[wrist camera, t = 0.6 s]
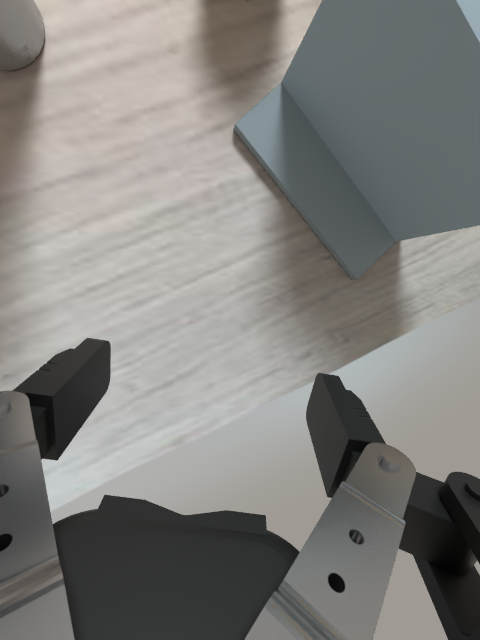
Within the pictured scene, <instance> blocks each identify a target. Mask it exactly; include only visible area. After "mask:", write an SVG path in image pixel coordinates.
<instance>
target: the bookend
mask: <svg viewBox="0 0 480 640" xmlns="http://www.w3.org/2000/svg"><path fill="white" fill-rule="evenodd" d="M233 130H234V131H235V132H236V134H237V135H238V136H239V138H240V139H241V140H242V141H243V143H244V144H245V145H246V146H247V148H248V149H249V150H250V151H251V153H252V154H253V155H254V157H255V158H256V159H257V160H258V162H259V163H260V164H261V165H262V167H263V168H264V169H265V170H266V172H267V173H268V174H269V176H270V177H271V178H272V179H273V181H274V182H275V183H276V184H277V186H278V187H279V188H280V189H281V191H282V192H283V193H284V195H285V196H286V197H287V198H288V200H289V201H290V202H291V203H292V205H293V206H294V207H295V208H296V210H297V211H298V212H299V214H300V215H301V216H302V217H303V219H304V220H305V221H306V222H307V224H308V225H309V226H310V227H311V229H312V230H313V231H314V233H315V234H316V235H317V236H318V238H319V239H320V240H321V241H322V243H323V244H324V245H325V246H326V248H327V249H328V250H329V251H330V253H331V254H332V255H333V257H334V258H335V259H336V260H337V262H338V263H339V264H340V265H341V267H342V268H343V269H344V270H345V272H346V273H347V274H348V276H349V277H350V278H351V279H358V278H359V277H360V276H361V275H362V274H363V273H364V272H365V271H366V270H367V269H368V268H369V267H370V266H371V265H372V264H373V263H374V262H375V261H376V260H377V259H378V258H379V257H380V256H381V255H382V254H384V253H385V252H386V251H387V250H388V249H389V248H390V247H391V246H392V245H393V244H394V243H395V242H396V241H400V240H405V239H411V238H416V237H421V236H426V235H431V234H437V233H442V232H447V231H452V230H457V229H463V228H468V227H473V226H478V225H480V0H322V2H321V4H320V6H319V8H318V10H317V12H316V14H315V16H314V18H313V20H312V22H311V24H310V26H309V28H308V30H307V32H306V34H305V36H304V38H303V40H302V42H301V44H300V46H299V48H298V50H297V52H296V54H295V56H294V58H293V60H292V62H291V64H290V66H289V68H288V70H287V72H286V74H285V76H284V78H283V80H282V82H281V83H280V84H279V85H278V86H277V87H276V88H275V89H274V90H272V91H271V92H270V93H269V94H268V95H267V96H266V97H265V98H264V99H262V100H261V101H260V102H259V103H258V104H257V105H256V106H255V107H254V108H252V109H251V110H250V111H249V112H248V113H247V114H246V115H245V116H244V117H242V118H241V119H240V120H239V121H238V122H237V123H236V124H235V126H234V129H233Z"/></svg>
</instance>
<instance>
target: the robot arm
mask: <svg viewBox="0 0 480 640" xmlns="http://www.w3.org/2000/svg"><path fill="white" fill-rule="evenodd" d="M44 38H45V32H44V24H43V20H42V17H41V14H40V12H39V10H38V8H37V6H36V4H35V2H34V0H0V70H15V69H20V68H23V67H25V66H27V65H29V64H30V63H31V62H33V61H34V60H35V59H36V58H37V56H38V55H39V54H40V52H41V49H42V47H43V44H44ZM110 350H111V348H110V343H109V341H105V340H98V339H92V338H87V339H85V340H84V341H83V342H82V343H81V344H80V345H79V346H77V347H76V348H75V349H68V350H66V351H63V352H61V353H58V354H56V355H55V356H54V357H53V358H51V359H50V360H49V361H48V362H47V364H44V365H43V366H42V367H41V368H39V370H37V371H36V372H35V373H33V374H32V375H31V376H30V377H29V378H27V379H26V380H25V381H24V382H23V383H21V384H20V385H19V386H18V387H17V388H15V389H14V390H13V391H2V392H0V640H373V636H374V633H375V629H376V625H377V621H378V619H379V615H380V611H381V608H382V604H383V601H384V597H385V594H386V590H387V587H388V583H389V580H390V576H391V573H392V569H393V565H394V562H395V559H396V555H397V551H398V548H399V549H401V550H403V551H406V552H408V553H410V554H412V555H413V556H414V559H415V561H416V563H417V565H418V568H419V570H420V573H421V575H422V578H423V580H424V582H425V585H426V587H427V590H428V592H429V594H430V597H431V599H432V602H433V604H434V606H435V609H436V611H437V614H438V616H439V618H440V621H441V623H442V626H443V628H444V630H445V633H446V635H447V638H448V640H480V575H479V573H478V572H477V570H476V568H475V566H474V564H475V563H476V561H477V560H478V562H479V564H480V479H478V478H476V477H474V476H472V475H469V474H467V473H462V472H452V473H450V474H449V476H448V477H447V479H446V481H445V482H441V481H438V480H435V479H433V478H430V477H428V476H425V475H422V474H420V473H418V472H416V469H415V467H414V465H413V463H412V462H411V461H410V459H409V458H407V456H406V455H404V454H403V453H402V452H400V451H399V450H397V449H395V448H394V447H392V446H389V445H387V444H386V443H385V441H384V440H383V438H382V436H381V434H380V433H379V431H378V429H377V427H376V426H375V424H374V422H373V421H372V419H371V417H370V415H369V413H368V412H367V411H366V408H365V407H364V405H363V403H362V401H361V400H360V399H359V398H358V397H357V396H356V395H355V394H354V393H353V392H352V391H350V390H346V389H345V387H344V385H343V384H342V382H341V380H340V378H339V376H335V375H328V374H322V373H319V374H317V376H316V379H315V382H314V385H313V389H312V392H311V396H310V399H309V402H308V406H307V412H306V420H307V425H308V428H309V432H310V435H311V439H312V443H313V446H314V450H315V454H316V458H317V461H318V465H319V469H320V472H321V476H322V480H323V483H324V487H325V490H326V494H327V497H330V498H332V499H331V501H330V502H329V504H328V506H327V508H326V509H325V511H324V513H323V514H322V516H321V518H320V519H319V521H318V523H317V524H316V526H315V528H314V529H313V531H312V533H311V535H310V536H309V538H308V540H307V541H306V543H305V545H304V546H303V548H302V549H301V551H300V552H299V551H298V550H297V549H296V548H295V547H293V546H292V545H291V544H290V543H288V542H287V541H286V540H284V539H283V538H281V537H280V536H278V535H276V534H274V533H272V532H270V531H267V529H266V516H265V515H258V514H250V513H243V512H235V511H218V512H211V513H202V514H195V515H181V514H178V513H176V512H173V511H171V510H168V509H166V508H164V507H161V506H159V505H156V504H153V503H151V502H148V501H146V500H141V499H133V498H126V497H117V496H110V495H104V497H103V499H102V502H101V504H100V506H99V508H98V509H94V510H89V511H85V512H81V513H78V514H74V515H71V516H69V517H67V518H65V519H62V520H60V521H58V522H56V523H54V524H52V519H51V513H50V507H49V502H48V496H47V491H46V485H45V479H44V474H43V468H42V463H41V460H42V458H43V459H51V460H58V459H59V457H60V456H61V455H62V453H63V452H64V450H65V449H66V448H67V446H68V445H69V443H70V442H71V441H72V439H73V438H74V436H75V435H76V434H77V432H78V431H79V429H80V428H81V427H82V425H83V424H84V422H85V421H86V420H87V418H88V417H89V415H90V414H91V413H92V411H93V410H94V408H95V407H96V406H97V404H98V403H99V401H100V400H101V399H102V397H103V396H104V394H105V393H106V391H107V389H108V386H109V382H110Z"/></svg>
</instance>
